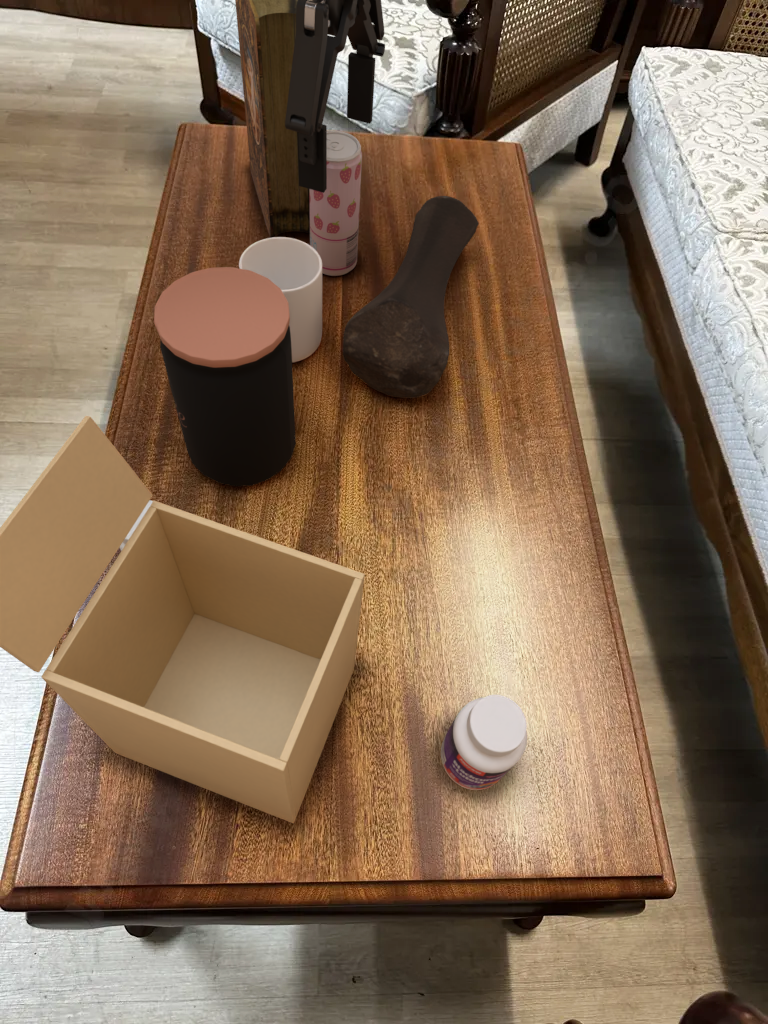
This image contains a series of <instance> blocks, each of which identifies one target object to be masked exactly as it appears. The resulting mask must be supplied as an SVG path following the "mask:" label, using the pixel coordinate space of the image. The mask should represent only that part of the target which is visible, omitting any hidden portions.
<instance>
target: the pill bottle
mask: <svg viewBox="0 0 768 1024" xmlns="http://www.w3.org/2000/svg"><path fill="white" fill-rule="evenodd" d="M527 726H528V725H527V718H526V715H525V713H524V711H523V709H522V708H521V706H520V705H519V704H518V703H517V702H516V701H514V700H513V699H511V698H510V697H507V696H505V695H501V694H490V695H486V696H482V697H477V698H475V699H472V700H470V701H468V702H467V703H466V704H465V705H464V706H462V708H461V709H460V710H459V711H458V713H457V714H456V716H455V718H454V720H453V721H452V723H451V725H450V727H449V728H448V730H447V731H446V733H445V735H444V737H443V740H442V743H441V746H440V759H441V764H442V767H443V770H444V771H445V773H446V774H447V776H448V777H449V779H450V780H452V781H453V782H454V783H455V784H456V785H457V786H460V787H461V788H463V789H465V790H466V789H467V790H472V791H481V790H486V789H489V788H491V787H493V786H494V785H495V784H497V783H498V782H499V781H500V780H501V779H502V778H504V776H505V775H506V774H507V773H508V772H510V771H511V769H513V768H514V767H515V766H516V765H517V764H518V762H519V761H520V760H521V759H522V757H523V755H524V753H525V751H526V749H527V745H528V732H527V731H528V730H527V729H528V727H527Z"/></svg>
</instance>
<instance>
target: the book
mask: <svg viewBox="0 0 768 1024" xmlns="http://www.w3.org/2000/svg"><path fill="white" fill-rule="evenodd" d="M297 1H298V0H234V2H235V3H234V4H235V13H236V23H237V24H236V25H237V35H238V47H239V58H240V69H241V78H242V80H241V81H242V90H243V102H244V103H243V104H244V114H245V123H246V134H247V135H246V136H247V146H248V157H249V168H250V173H251V176H252V180H253V184H254V188H255V191H256V195H257V198H258V201H259V205H260V209H261V212H262V215H263V219H264V223H265V226H266V229H267V233H268V236H269V238H272V237H277V236H278V235H280V234H284V233H288V232H299V233H306V234H310V196H309V189H308V188H305V187H301V186H299V173H298V146H297V132H296V131H292V130H289V129H286V128H285V117H286V110H287V102H288V94H289V85H290V77H291V69H292V61H293V52H294V44H295V36H296V5H297Z"/></svg>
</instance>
